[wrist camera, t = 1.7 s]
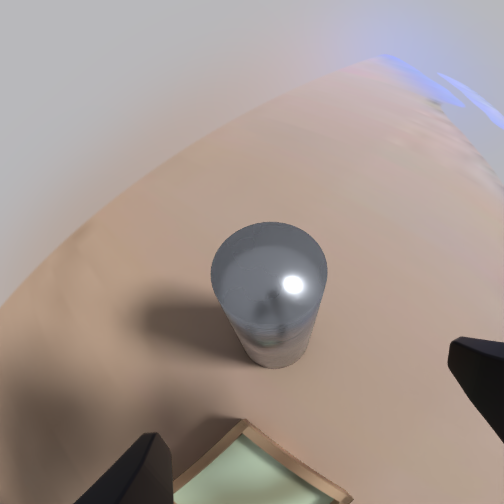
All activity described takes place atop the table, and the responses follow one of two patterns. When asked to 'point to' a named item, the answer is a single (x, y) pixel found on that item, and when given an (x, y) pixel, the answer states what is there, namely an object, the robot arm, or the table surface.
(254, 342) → the grey metal cylinder
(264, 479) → the wooden divided tray
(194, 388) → the table surface
